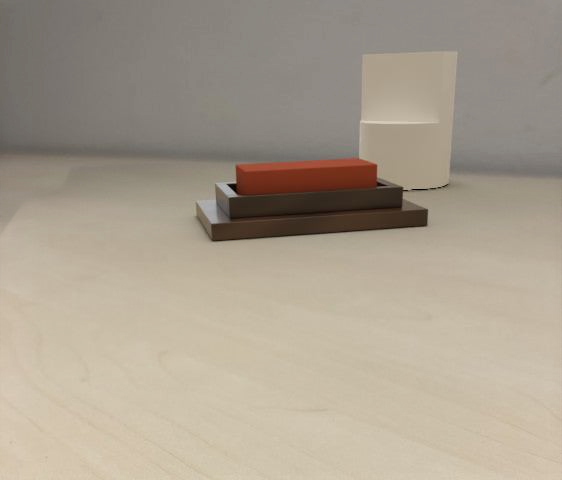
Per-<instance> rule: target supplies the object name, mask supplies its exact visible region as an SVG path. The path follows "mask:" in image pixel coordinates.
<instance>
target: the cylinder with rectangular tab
mask: <svg viewBox="0 0 562 480" xmlns="http://www.w3.org/2000/svg"><path fill="white" fill-rule="evenodd" d="M458 54H459V51H458V50H443V51H441V50H439V51H417V52H416V51H414V52H413V51H412V52H391V53H390V52H389V53H365V54H364V53H363V54H361V55H362V56H361V100H360V101H361V103H360V104H361V105H360V107H361V108H360V120H359V139H358V141H359V142H358V143H359V144H358V146H359V147H358V158H359V159H362V160H365V161H368V162H371V163H375V164H377V177H378V178H381V179H383V180H386V181H389V182H391V183H394V184H396V185H399V186H402V187H403V190H406V189H422V188H432V187H438V186H443V185H446V184H447V183H449V184H450V173H451V172H450V171H451V158H452V144H453V129H454V113H455V97H456V85H457V84H456V83H457V82H456V81H457V70H458V69H457V68H458Z"/></svg>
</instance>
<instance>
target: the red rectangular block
mask: <svg viewBox="0 0 562 480" xmlns="http://www.w3.org/2000/svg"><path fill="white" fill-rule="evenodd" d="M235 182H236V186H237V195H248V194H265V193H281V192H298V191H315V190H332V189H348V188H365V187H377V164H375V163H371V162H368V161H365V160H362V159H359V157H355V158H354V157H353V158H336V159H335V158H334V159H316V160H295V161H279V162H278V161H277V162H258V163H239V164H238V163H237V164H235Z"/></svg>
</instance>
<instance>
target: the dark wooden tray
mask: <svg viewBox="0 0 562 480" xmlns="http://www.w3.org/2000/svg"><path fill="white" fill-rule="evenodd" d="M214 191H215V194H214V195H215V199H202V200H200V199H199V200H196V201H195V210H196V216H197V218H198V219H199V221H200V223H201V224H202V227H203V228H204V229H205V231H206V232H207V234H208V236H209V238H210V239H211V241H212V242H213V241H214V242H215V241H216V242H217V241H228V240H241V239H242V240H244V239H257V238H269V237H270V238H271V237H272V238H273V237H284V236H285V237H286V236H297V235H311V234H312V235H313V234H314V235H315V234H327V233H339V232H341V233H342V232H353V231H354V232H355V231H368V230H369V231H370V230H383V229H394V228H395V229H396V228H398V229H399V228H410V227H411V228H413V227H422V226H423V227H424V226H428V222H429V221H428V220H429V209H428V208H426V207H424V206H421V205H419V204H417V203H414V202H412V201H409V200H407V199H405V198H404V191H403V187H402V186H399V185H396V184H394V183H391V182H389V181H386V180H383V179H381V178H378V177H377V187H365V188H348V189H332V190H315V191H298V192H281V193H265V194H248V195H237V186H236V181H225V182H215V183H214Z"/></svg>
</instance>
